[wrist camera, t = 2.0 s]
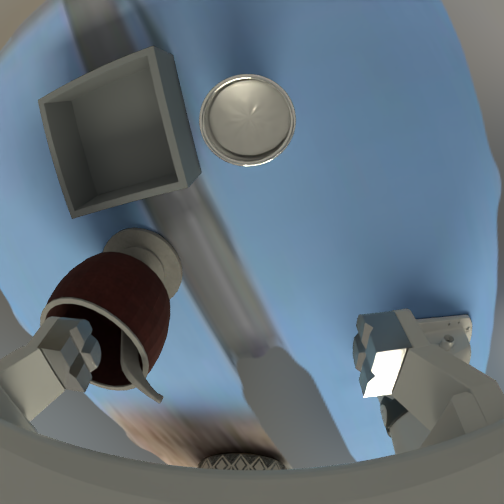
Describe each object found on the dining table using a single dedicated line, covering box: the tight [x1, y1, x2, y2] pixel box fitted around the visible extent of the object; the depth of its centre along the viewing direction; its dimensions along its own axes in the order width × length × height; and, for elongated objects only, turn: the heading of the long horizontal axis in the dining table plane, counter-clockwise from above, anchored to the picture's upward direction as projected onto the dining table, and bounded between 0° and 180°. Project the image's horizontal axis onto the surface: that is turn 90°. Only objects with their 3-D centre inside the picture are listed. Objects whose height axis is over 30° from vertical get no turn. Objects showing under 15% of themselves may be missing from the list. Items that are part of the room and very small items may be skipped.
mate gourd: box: [40, 228, 182, 403], centre depth 34 cm, size 16×14×20 cm
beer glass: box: [199, 74, 296, 166], centre depth 26 cm, size 7×7×15 cm
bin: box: [38, 46, 201, 219], centre depth 31 cm, size 15×15×7 cm
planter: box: [198, 453, 287, 470], centre depth 60 cm, size 26×26×22 cm
